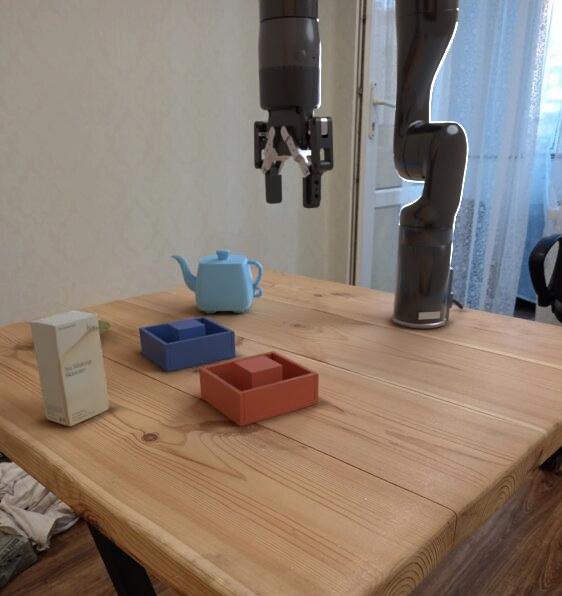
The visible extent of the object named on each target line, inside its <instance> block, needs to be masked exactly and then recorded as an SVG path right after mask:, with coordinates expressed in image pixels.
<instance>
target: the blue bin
mask: <svg viewBox="0 0 562 596" xmlns="http://www.w3.org/2000/svg"><path fill="white" fill-rule="evenodd" d="M187 319H188V318H187ZM187 319H185V320H187ZM191 319H195V320H196V321H198V322H200V323H202V324H204V325H205V331H206V336H202V337H197V338H192V339H187V340H182V341H177V342H172V343H168V333H167V323H170V322H171V321H170V322H164V323H159V324H154V325H153V324H152V325H147V326H142V327H138V332H139V341H140V342H139V343H140V350H141V352H140V353H141V354H142V355H144V356H145V357H147V358H148V359H149V360H151V361H152V362H153V363H154V364H156V365H157V366H159V367H160V368H161V369H163V370H164V371H165V372H167V373H170V372H174V371H178V370H182V369H187V368H193V367H196V366H200V365H206V364H210V363H215V362H219V361H224V360H227V359H232V358H235V357H236V335H235V331H234V330H233V329H231V328H229V327H227V326H225V325H223V324H220V323H218V322H217V321H214V320H212V319H211V318H208V317H206V316H199V317H192V318H191Z"/></svg>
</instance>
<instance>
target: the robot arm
mask: <svg viewBox="0 0 562 596" xmlns="http://www.w3.org/2000/svg"><path fill="white" fill-rule="evenodd" d="M319 1H320V0H258V39H257V60H258V63H257V64H258V86H259V87H258V89H259V107H260V109H261V110H263V111H266V112H267V113H268V117H267V118H268V119H267V120H257V121H254V123H253V165H254V169H256V170H261V173H262V174H263V175H264V186H265V187H264V188H265V189H264V190H265V202H266V203H267V204H269V205H275V204H281V203H282V202H283V179H282V178H283V176H282V175H283V174H282V173H281V172H282V169H283V166H284V165H285V162H286V161H287V160H289V159H290V157H292V159H293V161H294V162H296V163H297V164H298V166H299V167H300V170H301V172H302V175H303V177H302V207H303V208H304V209H319V207H320V205H321V201H322V176H323V175H324V174H325V173H326V172H328V171H333V169H334V165H335V163H334V132H333V131H334V130H333V128H334V127H333V126H334V125H333V118H332V117H331V116H315V112H314V110H317V109H319V108H320V106H321V104H322V99H321V98H322V95H321V94H322V88H321V87H322V84H321V83H322V45H321V44H322V43H321V34H320V23H319V22H320V21H319V20H320V19H319V18H320V16H319V15H320V13H319V12H320V4H319V3H320V2H319ZM459 2H460V0H394V19H395V20H394V22H395V23H394V24H395V40H396V41H395V43H396V89H395V107H394V109H395V110H394V121H393V136H392V139H393V140H392V159H393V165H394V168H395V170H396V173H397V175H398V176H399V178H401V179H402V180H404V181H407V182H412V183H423V188H422V191H421V195H420V196H419V198H418V199H416V200H415V201H413V202H411V203H408V204H406V205H404V206H402V207H401V209H400V210H399V211H400V212H399V216H398V217H399V220H398V233H397V236H398V237H397V250H396V254H397V255H396V266H395V267H396V268H395V281H394V283H395V284H394V299H393V310H392V322H393V323H394V324H396V325H398V326H401V327H404V328H411V329H437V328H440V327H443V326H444V325H445V324H446V322H449V319H450V310H451V309H452V307H453V304H455V305H456V306H457V308H459V310H463V309H464V306H463V304H462V303H461V302H460V301H458V299H455V298H454V293H453V292H452V290H453V281H454V269H453V268H452V267H451V263H452V256H453V255H452V254H453V244H454V233H455V222H456V216H457V214H458V212H459V209H460V206H461V202H462V197H463V191H464V190H463V189H464V183H465V177H466V171H467V164H468V156H469V141H468V136H467V133H466V131H465V129H464V127H463V126H462V125H461V124H460V123H458V122H455V121H431V102H432V94H433V93H432V92H433V87H434V83H435V80H436V78H437V75H438V73H439V70H440V69H441V66H442V65H443V62H444V60H445V58H446V55H447V53H448V51H449V49H450V47H451V44H452V43H453V39H454V37H455V34H456V31H457V27H458V22H459V12H460V11H459V8H460V6H459V4H460V3H459ZM321 150H323V160H322V159H321V154H322V153H321ZM262 153H263V154H262ZM263 156H264V158H263ZM309 162H310V163H309ZM280 173H281V174H280Z"/></svg>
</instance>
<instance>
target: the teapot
mask: <svg viewBox="0 0 562 596" xmlns="http://www.w3.org/2000/svg"><path fill="white" fill-rule="evenodd" d="M215 253H216V254H207V255H205V256H203V257H201V258H200V260H199V262H198V266H197V271H196V276H195V275H194V274H193V273H192V272H191V269H190V266H189V264H188V261H187V259H186V258H185V257H184V256H181V255H175V254H169V256H170V257H171V258H173V259H174V260H175V261H176V262H177V263H178V264H179V267H180V269H181V273H182V277H183V281H184V283H185V286H186V287H187V288H188V289H189V290H190V291H191V292H193V293H194V298H195V303H196V305H197V308H198V309H199V311H202V312H204V313H205V314H214V313H216V312H232V313H234V314H241V313H244V312H245V311H246V310H248V309H249V308H250V307H251V305H252V303H253V300H254V298H255V299H257V298H258V299H259V298H261V297H262V296H263V294H264V290H263V288H262V287H261V286H259V284H260V282H261V280H262V277H263V274H264V267H263V266H262V264H261V263H260V262H259V261H257V260H256V259H255V260H254V259H248V256H247V255H245V254H231V250H230V249H225V248H224V249H217V250H215ZM250 265H252V266H255V267H257V268H258V273H257V276H256V278H255V280H254V279H253V274H252V270H251V267H250ZM256 290H257V291H259V292H258V293H257V292H256Z"/></svg>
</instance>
